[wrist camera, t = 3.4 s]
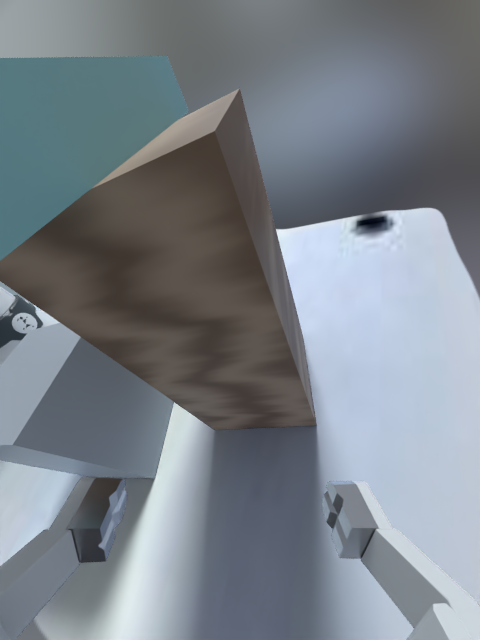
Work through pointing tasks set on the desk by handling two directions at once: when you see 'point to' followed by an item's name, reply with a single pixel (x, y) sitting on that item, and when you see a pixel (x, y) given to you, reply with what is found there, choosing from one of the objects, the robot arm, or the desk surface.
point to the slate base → (78, 409)
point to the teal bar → (73, 130)
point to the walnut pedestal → (180, 275)
